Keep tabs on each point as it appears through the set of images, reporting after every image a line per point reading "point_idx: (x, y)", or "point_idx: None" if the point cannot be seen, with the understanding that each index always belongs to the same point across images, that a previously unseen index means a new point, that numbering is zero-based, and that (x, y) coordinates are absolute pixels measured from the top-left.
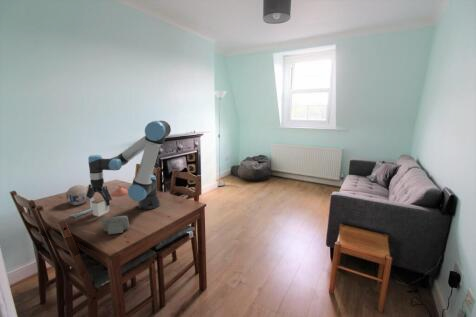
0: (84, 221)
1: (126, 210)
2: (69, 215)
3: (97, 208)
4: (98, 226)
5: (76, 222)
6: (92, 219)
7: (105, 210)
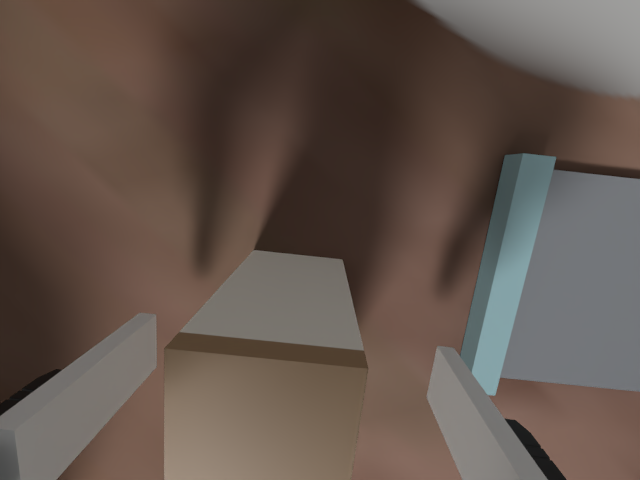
0: (310, 98)
1: (95, 446)
2: (628, 178)
3: (224, 287)
4: (22, 23)
5: (385, 47)
6: (262, 170)
7: (149, 316)
